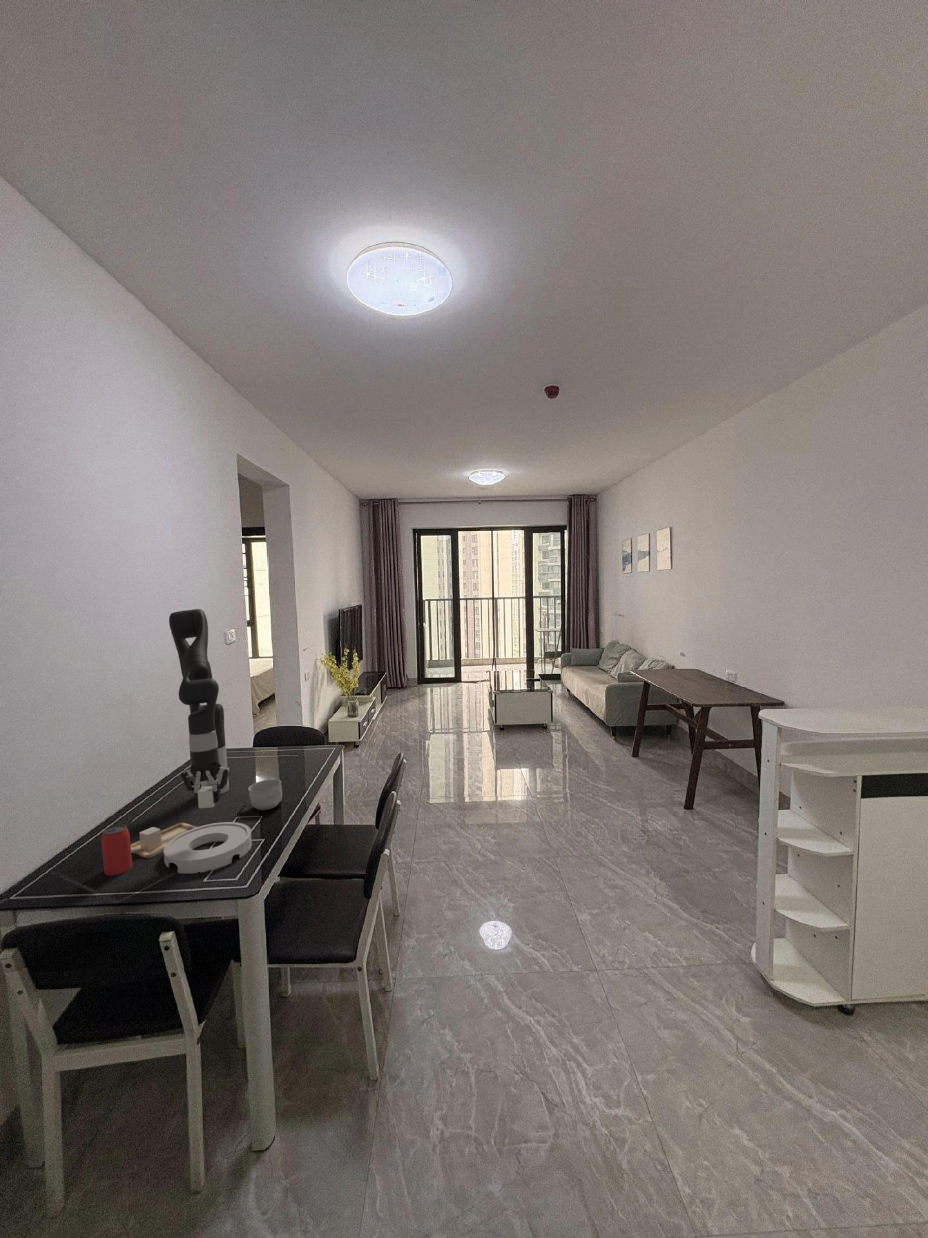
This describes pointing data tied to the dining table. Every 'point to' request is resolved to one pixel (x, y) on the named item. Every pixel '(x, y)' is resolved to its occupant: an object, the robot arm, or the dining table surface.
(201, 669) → the robot arm
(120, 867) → the beer can
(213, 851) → the ashtray
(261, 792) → the teacup
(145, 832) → the stone block
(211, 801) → the stone block
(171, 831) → the tray
